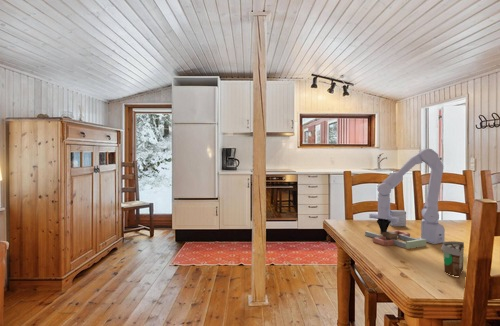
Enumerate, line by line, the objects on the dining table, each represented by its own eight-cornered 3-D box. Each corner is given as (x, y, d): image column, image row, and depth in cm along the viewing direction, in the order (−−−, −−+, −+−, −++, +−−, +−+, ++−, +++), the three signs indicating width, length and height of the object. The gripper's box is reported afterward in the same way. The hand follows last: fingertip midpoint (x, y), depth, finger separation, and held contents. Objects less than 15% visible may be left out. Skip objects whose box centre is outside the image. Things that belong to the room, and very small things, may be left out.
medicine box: (403, 225, 190) (403, 210, 190) (406, 226, 186) (406, 211, 185) (389, 224, 191) (389, 210, 190) (391, 226, 186) (391, 211, 186)
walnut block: (397, 239, 159) (397, 233, 159) (390, 240, 156) (390, 234, 156) (389, 237, 163) (389, 231, 163) (382, 238, 160) (382, 232, 160)
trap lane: (434, 244, 149) (434, 238, 149) (398, 250, 140) (398, 243, 140) (389, 231, 173) (389, 226, 173) (356, 236, 164) (356, 230, 164)
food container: (444, 265, 121) (444, 239, 121) (463, 269, 118) (464, 241, 117) (437, 275, 112) (438, 246, 112) (458, 279, 108) (459, 249, 108)
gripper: (402, 208, 159) (401, 235, 160) (374, 204, 170) (374, 230, 171) (395, 209, 155) (395, 238, 155) (367, 206, 166) (367, 232, 166)
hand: (383, 234), depth 163 cm, fingers closed
